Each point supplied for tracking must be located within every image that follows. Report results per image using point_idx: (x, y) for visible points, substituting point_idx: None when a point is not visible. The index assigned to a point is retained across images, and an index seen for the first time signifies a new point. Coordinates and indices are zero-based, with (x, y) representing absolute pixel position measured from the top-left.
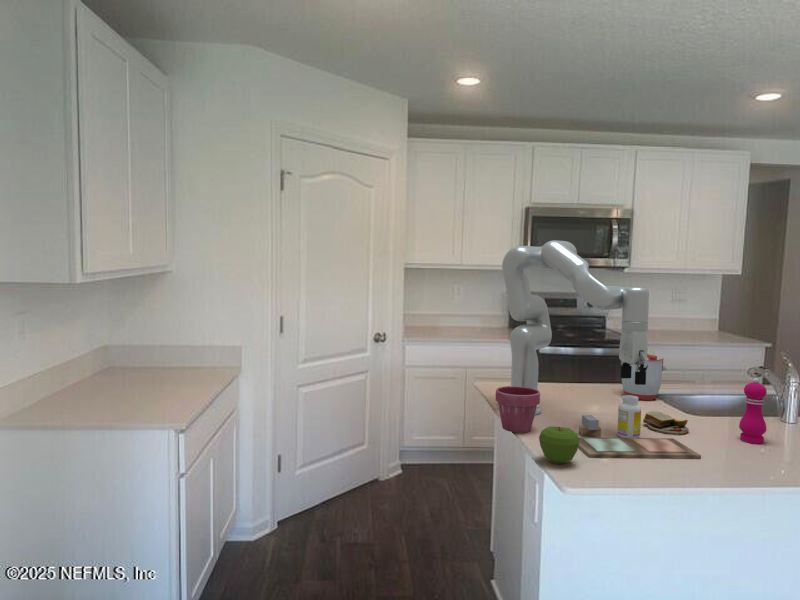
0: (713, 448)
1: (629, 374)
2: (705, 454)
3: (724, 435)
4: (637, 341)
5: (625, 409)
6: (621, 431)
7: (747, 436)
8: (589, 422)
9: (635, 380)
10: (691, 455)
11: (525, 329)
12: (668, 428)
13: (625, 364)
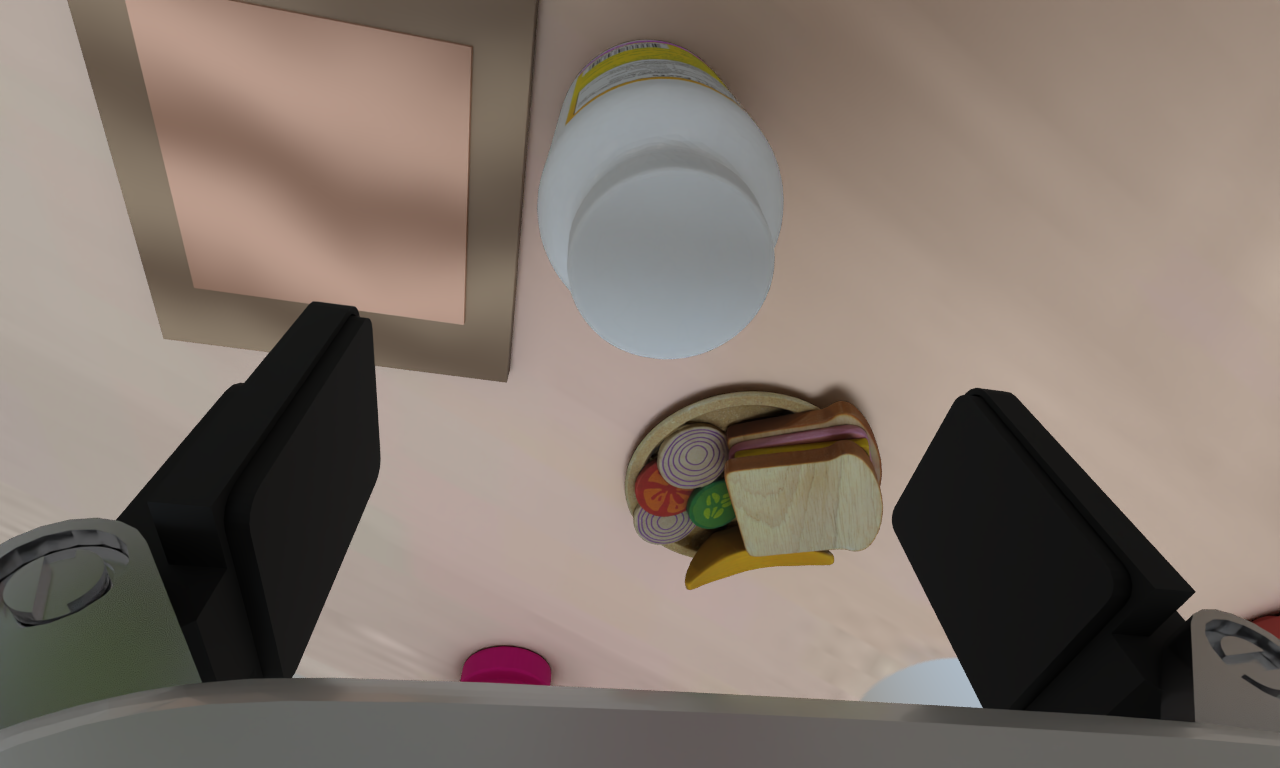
0: (390, 491)
1: (929, 548)
2: None
3: (592, 631)
4: None
5: (589, 107)
6: (622, 47)
7: (483, 674)
8: None
9: (286, 340)
10: (149, 281)
11: None
12: (686, 463)
13: (1122, 696)
